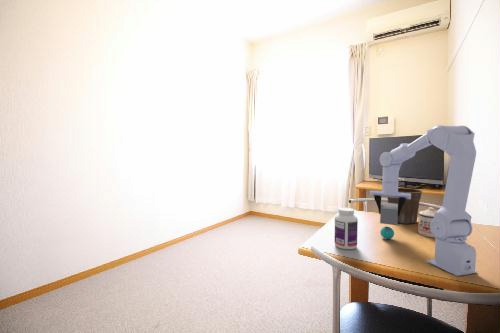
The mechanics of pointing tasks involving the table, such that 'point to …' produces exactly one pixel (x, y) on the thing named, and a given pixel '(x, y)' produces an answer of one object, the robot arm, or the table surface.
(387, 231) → the ball
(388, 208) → the grey block
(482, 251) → the table surface
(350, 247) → the pill bottle
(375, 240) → the table surface
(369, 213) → the table surface
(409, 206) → the plant pot
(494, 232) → the table surface
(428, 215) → the teacup with lid
